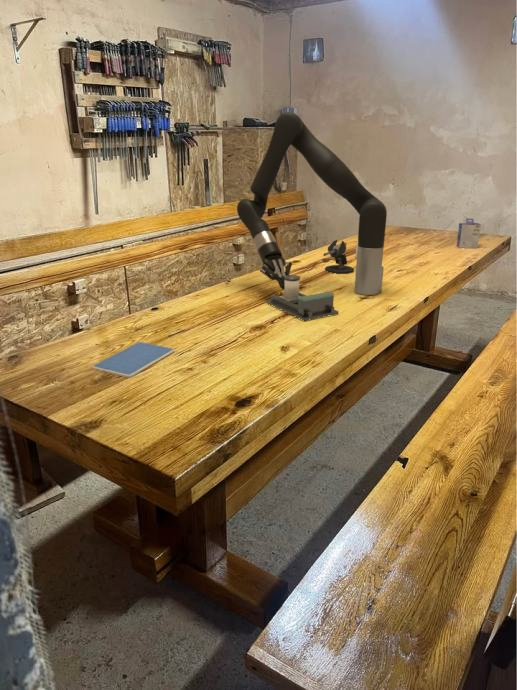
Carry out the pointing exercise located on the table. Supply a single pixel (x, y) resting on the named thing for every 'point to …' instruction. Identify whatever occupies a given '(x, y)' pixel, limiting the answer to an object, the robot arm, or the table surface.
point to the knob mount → (307, 305)
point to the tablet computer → (133, 359)
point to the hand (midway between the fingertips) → (285, 288)
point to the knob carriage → (291, 288)
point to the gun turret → (338, 259)
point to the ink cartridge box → (468, 234)
